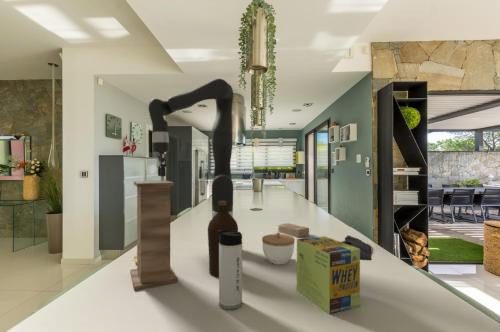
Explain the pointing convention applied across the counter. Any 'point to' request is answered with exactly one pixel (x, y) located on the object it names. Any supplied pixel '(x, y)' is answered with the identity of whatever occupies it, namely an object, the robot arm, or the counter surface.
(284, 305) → the counter surface
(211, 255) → the olive oil
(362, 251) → the dark slate chunk
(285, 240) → the lidded bowl
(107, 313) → the counter surface
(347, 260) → the protein box
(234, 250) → the travel mug
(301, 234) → the brick
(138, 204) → the stand
